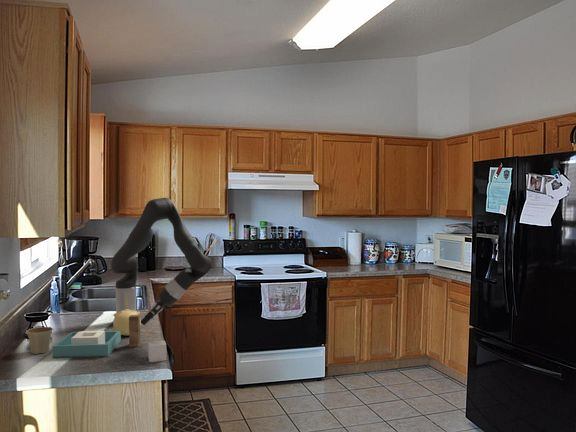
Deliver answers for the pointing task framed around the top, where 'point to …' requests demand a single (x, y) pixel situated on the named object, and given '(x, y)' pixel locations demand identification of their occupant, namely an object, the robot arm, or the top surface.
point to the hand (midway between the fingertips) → (144, 320)
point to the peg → (134, 330)
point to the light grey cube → (157, 351)
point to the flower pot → (39, 339)
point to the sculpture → (123, 321)
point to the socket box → (87, 344)
